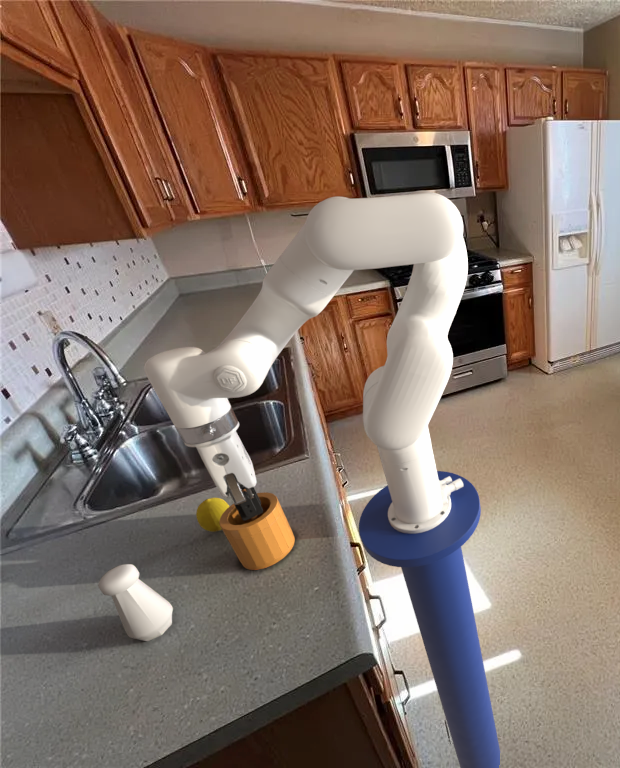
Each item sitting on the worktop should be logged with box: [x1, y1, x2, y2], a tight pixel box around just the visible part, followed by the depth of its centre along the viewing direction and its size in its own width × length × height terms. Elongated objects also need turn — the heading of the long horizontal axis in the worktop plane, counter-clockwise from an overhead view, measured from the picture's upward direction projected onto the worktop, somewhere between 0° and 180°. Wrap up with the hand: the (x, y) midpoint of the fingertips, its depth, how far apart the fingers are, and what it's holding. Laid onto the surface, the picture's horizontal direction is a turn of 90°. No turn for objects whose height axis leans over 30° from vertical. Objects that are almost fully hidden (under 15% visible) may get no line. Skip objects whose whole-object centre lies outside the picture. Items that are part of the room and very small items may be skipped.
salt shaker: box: [97, 563, 174, 642], centre depth 63 cm, size 6×6×13 cm
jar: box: [219, 491, 296, 571], centre depth 76 cm, size 9×9×10 cm
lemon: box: [195, 497, 231, 533], centre depth 82 cm, size 6×6×8 cm
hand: (252, 511), depth 73 cm, fingers closed
